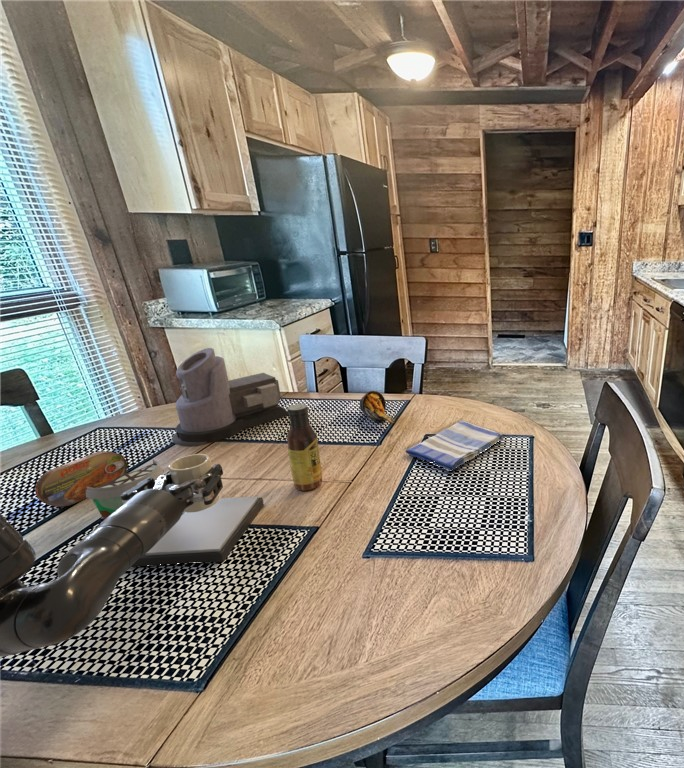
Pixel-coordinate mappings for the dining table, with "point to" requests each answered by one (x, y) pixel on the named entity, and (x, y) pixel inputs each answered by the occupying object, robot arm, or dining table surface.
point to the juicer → (221, 400)
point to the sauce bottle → (303, 450)
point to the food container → (120, 488)
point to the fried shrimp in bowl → (374, 406)
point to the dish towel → (455, 445)
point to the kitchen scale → (204, 533)
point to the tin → (79, 478)
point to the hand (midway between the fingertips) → (200, 469)
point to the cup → (191, 475)
